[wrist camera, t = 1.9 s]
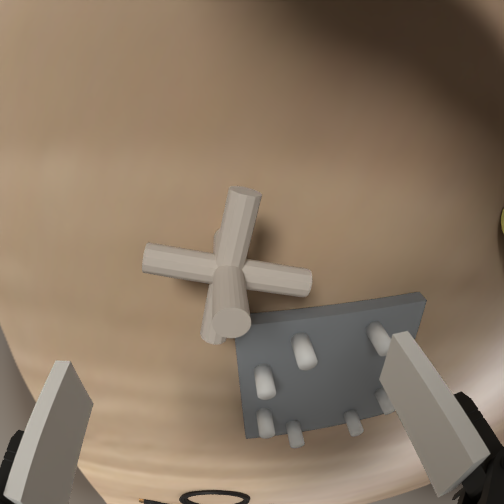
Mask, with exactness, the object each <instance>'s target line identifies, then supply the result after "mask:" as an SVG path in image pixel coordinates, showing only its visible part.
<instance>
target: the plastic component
mask: <svg viewBox="0 0 504 504" xmlns="http://www.w3.org/2000/svg"><path fill="white" fill-rule="evenodd" d="M501 226H502V231H503V234H504V209H503V212H502V215H501Z"/></svg>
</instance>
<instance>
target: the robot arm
mask: <svg viewBox="0 0 504 504" xmlns="http://www.w3.org/2000/svg"><path fill="white" fill-rule="evenodd" d="M379 380H380V382H381V384H382V386H383V388H384V389H385V391H386V393H387V395H388V397H389V399H390V401H391V403H392V405H393V407H394V409H395V410H396V412H397V414H398V416H399V418H400V420H401V422H402V424H403V426H404V428H405V430H406V432H407V434H408V436H409V438H410V440H411V442H412V444H413V446H414V448H415V450H416V452H417V454H418V456H419V458H420V461H421V463H422V465H423V467H424V469H425V471H426V473H427V475H428V477H429V480H430V482H431V484H432V486H433V488H434V490H435V492H436V495H437V497H440V496H442V495H444V494H446V493H448V492H450V491H452V490H454V489H455V488H456V487H457V486H458V485H460V484H461V483H462V485H463V488H462V489H461V490H459V491H458V492H457V493H456V494H455V495H454V497H453V499H452V500H455V499H456V498H457V497H459V496H460V497H459V499H458V504H504V447H503V446H502V444H501V443H500V442H499V440H498V438H497V437H496V435H495V434H494V432H493V431H492V429H491V427H490V426H489V424H488V423H487V421H486V420H485V418H483V415H482V414H481V412H480V411H478V408H477V406H476V405H475V404H474V402H473V401H472V399H471V398H469V397H468V396H467V395H465V394H464V393H463V392H459V393H457V394H454V395H453V394H452V392H451V391H450V389H449V388H448V386H447V385H446V383H445V382H444V380H443V379H442V377H441V376H440V375H439V373H438V372H437V370H436V369H435V368H434V366H433V365H432V363H431V362H430V360H429V359H428V358H427V356H426V355H425V354H424V352H423V351H422V349H421V348H420V347H419V345H418V344H417V343H416V341H415V340H414V339H413V337H412V336H411V334H410V333H409V332H408V331H405V332H401V333H396V334H393V335H392V338H391V342H390V345H389V349H388V352H387V356H386V359H385V362H384V366H383V369H382V372H381V375H380V378H379ZM92 407H93V402H92V400H91V398H90V397H89V395H88V393H87V391H86V390H85V388H84V386H83V384H82V382H81V380H80V379H79V377H78V375H77V373H76V371H75V369H74V367H73V365H72V363H71V361H58V360H56V361H55V363H54V365H53V367H52V370H51V372H50V374H49V376H48V378H47V380H46V382H45V384H44V387H43V389H42V391H41V393H40V396H39V398H38V400H37V402H36V405H35V407H34V409H33V412H32V414H31V417H30V419H29V422H28V424H27V427H26V429H25V431H21V430H18V431H17V432H16V433H15V434H14V436H13V437H12V438H11V440H10V442H9V445H8V448H7V452H6V453H5V456H4V460H3V461H2V464H1V467H0V504H69V499H70V494H71V490H72V485H73V480H74V476H75V471H76V467H77V463H78V459H79V455H80V451H81V447H82V443H83V439H84V435H85V432H86V428H87V424H88V421H89V417H90V414H91V411H92Z"/></svg>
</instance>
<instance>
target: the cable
mask: <svg viewBox="0 0 504 504" xmlns="http://www.w3.org/2000/svg"><path fill="white" fill-rule="evenodd" d="M207 494H218V495H231V496H237V497H240V498H243V499H244V500H243V501H242V502H239V503H236V504H248V503H249V501H250V497H249V496H248V495H246V494H243V493H238V492H230V491H214V490H206V491H193V492H188V493H185V494H183V495H182V496H181V497H180V498H179V501H180V502H181V503H182V504H198V503H194V502H192V501H189V500H188V499H187V498H188V497H191V496H196V495H207ZM139 502H141V503H144V504H167V503H160V502H157V501H152V500H146V499H139Z"/></svg>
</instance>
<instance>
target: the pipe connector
mask: <svg viewBox="0 0 504 504" xmlns="http://www.w3.org/2000/svg"><path fill="white" fill-rule="evenodd" d="M261 197H262V194H261V193H260V192H258V191H256V190H254V189H250V188H247V187H241V186H231V187H229V190H228V195H227V200H226V204H225V209H224V214H223V219H222V223H221V228H220V229H218V230H217V231H216V233H215V235H214V251H213V253H209V252H203V251H197V250H191V249H185V248H179V247H173V246H167V245H162V244H156V243H150V242H148V243H147V244H146V247H145V251H144V255H143V263H142V271H143V273H148V274H154V275H159V276H165V277H171V278H177V279H183V280H189V281H195V282H202V283H208V284H209V289H208V294H207V299H206V305H205V310H204V315H203V321H202V326H201V332H200V335H201V337H202V339H203V340H204V341H206V342H207V343H210V344H222V343H223V342H225V341H226V338H236V337H240V336H242V335H244V334H245V333H246V332H247V331H248V330H249V329H250V327H251V317H250V310H249V304H248V297H247V291H246V289H247V290H254V291H261V292H268V293H275V294H283V295H290V296H297V297H306V296H308V294H309V292H310V289H311V285H312V273H311V270H309V269H306V268H300V267H294V266H288V265H282V264H275V263H269V262H263V261H257V260H251V259H246V257H247V253H248V249H249V245H250V241H251V237H252V233H253V229H254V225H255V221H256V217H257V213H258V209H259V205H260V201H261Z"/></svg>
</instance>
